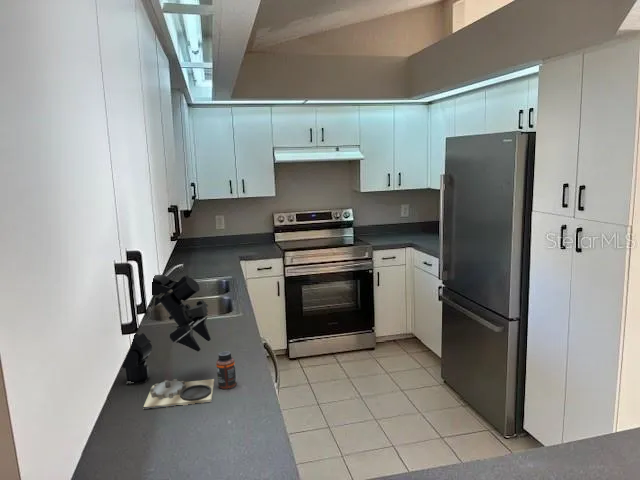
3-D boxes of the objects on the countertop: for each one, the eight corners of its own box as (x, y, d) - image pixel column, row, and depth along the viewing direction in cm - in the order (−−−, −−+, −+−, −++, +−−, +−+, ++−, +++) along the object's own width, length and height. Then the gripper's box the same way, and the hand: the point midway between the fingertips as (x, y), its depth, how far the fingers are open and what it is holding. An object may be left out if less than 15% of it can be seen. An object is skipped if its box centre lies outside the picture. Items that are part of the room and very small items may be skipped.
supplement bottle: (239, 382, 161) (237, 350, 159) (231, 390, 155) (229, 357, 154) (223, 381, 163) (220, 349, 161) (214, 389, 157) (212, 356, 155)
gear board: (143, 409, 145) (142, 397, 145) (152, 388, 159) (151, 377, 159) (211, 402, 148) (210, 390, 147) (214, 381, 162) (213, 370, 162)
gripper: (182, 303, 149) (212, 342, 150) (204, 287, 167) (231, 323, 168) (156, 322, 151) (186, 361, 152) (181, 305, 170) (208, 340, 170)
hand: (204, 345), depth 161 cm, fingers open, 9 cm apart
